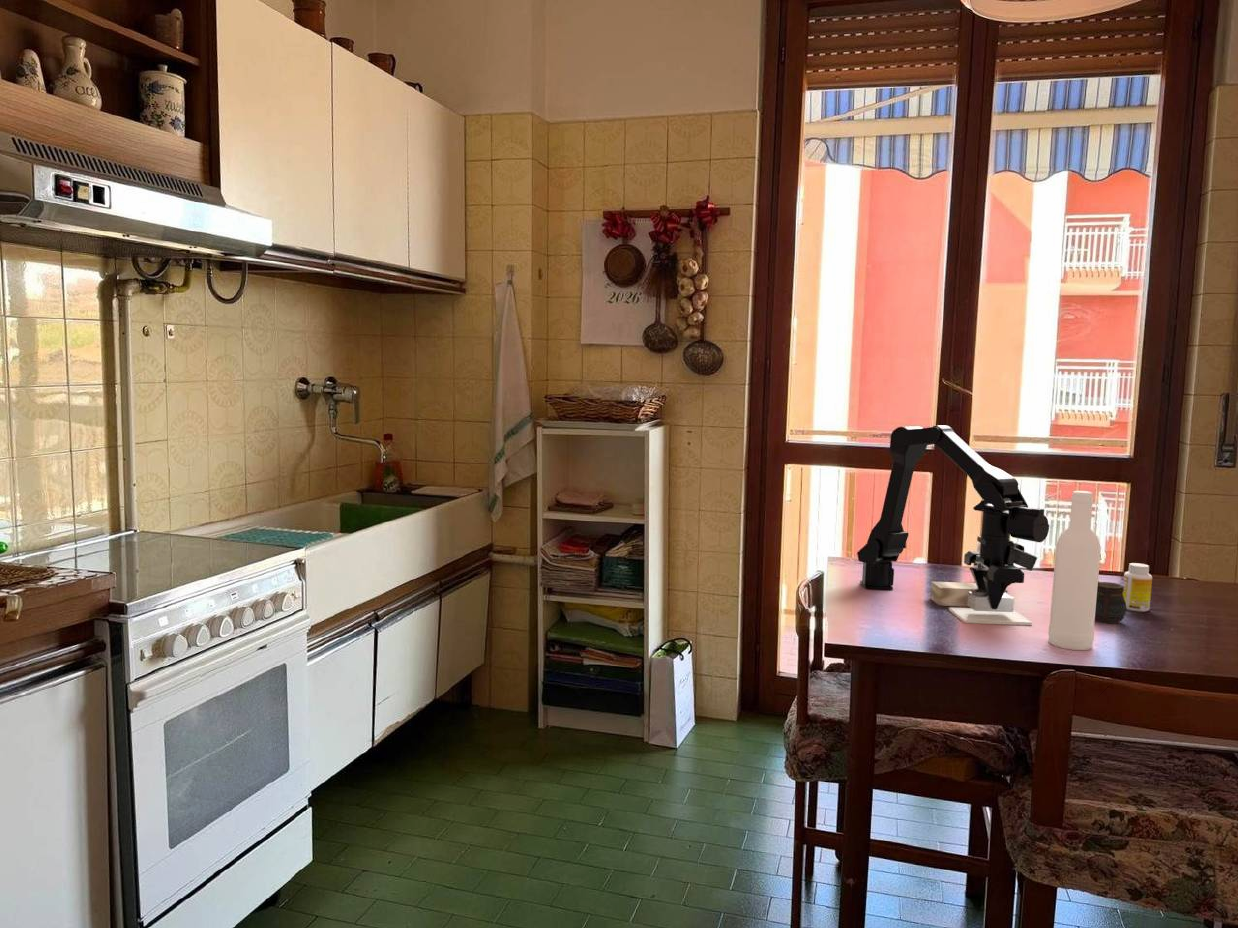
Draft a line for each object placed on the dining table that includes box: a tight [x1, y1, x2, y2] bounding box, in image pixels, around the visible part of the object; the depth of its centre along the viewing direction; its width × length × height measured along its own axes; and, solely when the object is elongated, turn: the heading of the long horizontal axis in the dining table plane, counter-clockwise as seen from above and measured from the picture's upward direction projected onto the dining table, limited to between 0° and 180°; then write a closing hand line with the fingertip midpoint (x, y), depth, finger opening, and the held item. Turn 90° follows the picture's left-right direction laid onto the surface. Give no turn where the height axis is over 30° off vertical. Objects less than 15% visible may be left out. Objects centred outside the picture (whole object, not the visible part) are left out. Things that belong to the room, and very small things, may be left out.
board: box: [948, 607, 1033, 626], centre depth 198 cm, size 14×10×1 cm
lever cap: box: [967, 589, 1015, 612], centre depth 197 cm, size 8×5×4 cm, turn 88°
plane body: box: [929, 581, 1008, 607], centre depth 209 cm, size 15×6×6 cm, turn 88°
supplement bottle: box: [1122, 562, 1153, 613], centre depth 208 cm, size 6×6×10 cm
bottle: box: [1047, 490, 1102, 651], centre depth 178 cm, size 8×8×30 cm
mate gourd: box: [1095, 580, 1128, 624], centre depth 197 cm, size 7×8×10 cm
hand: (989, 605), depth 198 cm, fingers closed on lever cap, 5 cm apart
